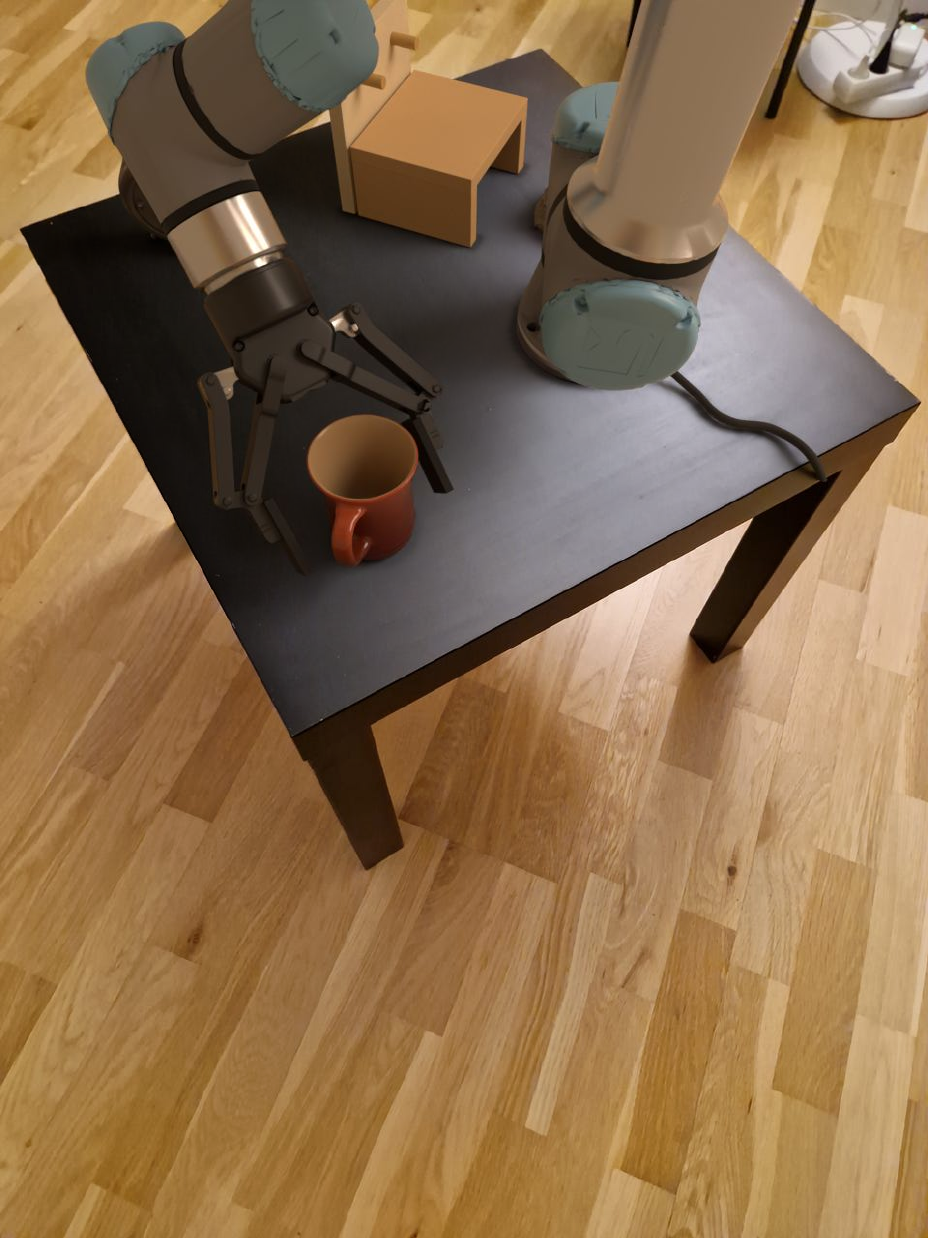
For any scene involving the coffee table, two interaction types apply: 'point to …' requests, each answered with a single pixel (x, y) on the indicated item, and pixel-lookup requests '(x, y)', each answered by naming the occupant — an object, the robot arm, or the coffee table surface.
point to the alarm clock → (138, 203)
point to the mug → (365, 485)
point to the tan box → (421, 139)
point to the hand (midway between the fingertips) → (376, 530)
